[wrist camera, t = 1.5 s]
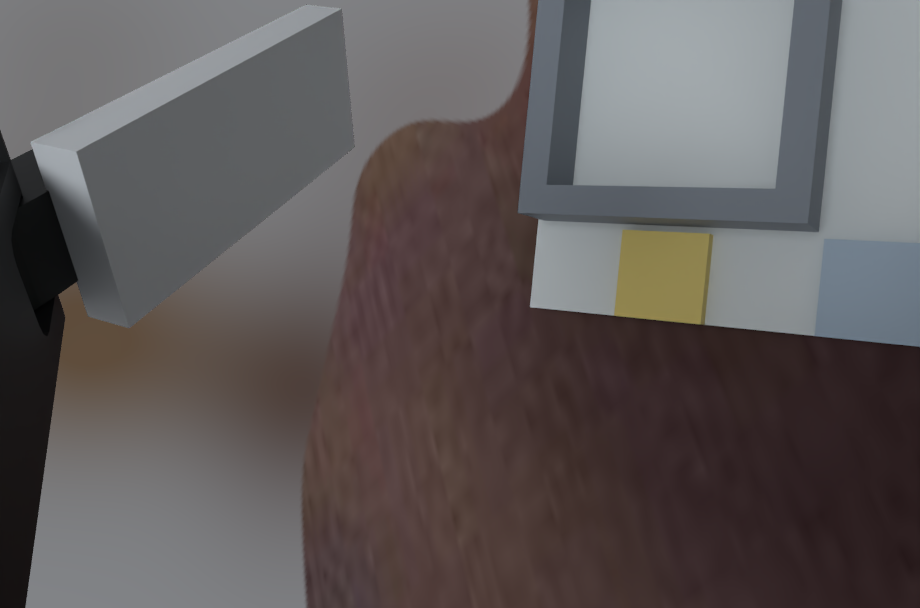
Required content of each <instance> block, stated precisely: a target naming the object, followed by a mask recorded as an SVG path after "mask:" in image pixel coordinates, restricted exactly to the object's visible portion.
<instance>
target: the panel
mask: <svg viewBox="0 0 920 608" xmlns="http://www.w3.org/2000/svg"><path fill="white" fill-rule="evenodd" d="M518 213H520V214H523V215H527V216H530V217H534V218H537V219H539V220H538V230H537V240H536V250H535V261H534V271H533V281H532V291H531V301H530V307H534V308H543V309H553V310H563V311H573V312H583V313H593V314H603V315H613V316H621V317H631V318H641V319H651V320H661V321H671V322H681V323H691V324H700V325H711V326H721V327H731V328H741V329H751V330H761V331H771V332H781V333H791V334H800V335H810V336H819V337H829V338H839V339H849V340H858V341H868V342H878V343H888V344H898V345H908V346H918V347H920V0H538V10H537V20H536V31H535V41H534V51H533V61H532V71H531V82H530V92H529V102H528V112H527V123H526V133H525V143H524V153H523V164H522V174H521V184H520V194H519V204H518Z"/></svg>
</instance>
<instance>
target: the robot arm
mask: <svg viewBox="0 0 920 608" xmlns="http://www.w3.org/2000/svg"><path fill="white" fill-rule="evenodd" d="M31 146H32V150H30V151H28V152H26V153H24V154H22V155H20V156H18V157H16V158H14V159H12V160H11V159H10V157H9V154H8V151H7V148H6V145H5V142H4V140H3V137H2V134H1V131H0V608H25V605H26V597H27V591H28V590H27V589H28V582H29V576H30V569H31V561H32V554H33V547H34V540H35V533H36V525H37V518H38V510H39V503H40V496H41V489H42V482H43V474H44V467H45V460H46V453H47V445H48V438H49V430H50V424H51V417H52V409H53V402H54V395H55V387H56V380H57V373H58V366H59V358H60V351H61V344H62V337H63V329H64V322H65V315H64V312H63V308H62V305H61V302H60V299H59V296H58V294H60V293H61V292H62V291H64V290H65V289H67V288H68V287H70V286H71V285H73V284H74V283H75V282H77V284H78V287H79V290H80V293H81V296H82V299H83V302H84V305H85V308H86V311H87V315H88V316H89V317H92V318H95V319H99V320H102V321H106V322H110V323H113V324H116V325H120V326H123V327H127V328H130V327H131V326H133V325H134V324H135V323H136V322H137V321H139V320H140V319H141V318H142V317H144V316H145V315H146V314H147V313H149V312H150V311H151V310H152V309H154V308H155V307H156V306H157V305H158V304H160V303H161V302H162V301H163V300H165V299H166V298H167V297H169V296H170V295H171V294H172V293H173V292H175V291H176V290H177V289H179V288H180V287H181V286H182V285H184V284H185V283H186V282H187V281H189V280H190V279H191V278H192V277H194V276H195V275H196V274H197V273H199V272H200V271H201V270H202V269H203V268H205V267H206V266H207V265H209V264H210V263H211V262H212V261H213V260H215V259H216V258H217V257H218V256H220V255H221V254H222V253H223V252H224V251H226V250H227V249H228V248H230V247H231V246H232V245H233V244H235V243H236V242H237V241H238V240H240V239H241V238H242V237H243V236H245V235H246V234H247V233H248V232H250V231H251V230H252V229H253V228H255V227H256V226H257V225H258V224H260V223H261V222H262V221H263V220H265V219H266V218H267V217H268V216H270V215H271V214H272V213H273V212H274V211H276V210H277V209H278V208H280V207H281V206H282V205H283V204H285V203H286V202H287V201H288V200H290V198H292V197H293V196H294V195H296V194H297V193H298V192H299V191H300V190H302V189H303V188H304V187H306V186H307V185H308V184H309V183H311V182H312V181H313V180H314V179H316V178H317V177H318V176H319V175H321V174H322V173H323V172H324V171H326V170H327V169H328V168H329V167H331V166H332V165H333V164H334V163H335V162H337V161H338V160H339V159H341V158H342V157H343V156H344V155H346V154H347V153H348V152H349V151H351V150H352V149H353V148H354V147H355V145H354V135H353V124H352V113H351V102H350V92H349V81H348V71H347V59H346V49H345V38H344V28H343V16H342V9H340V8H331V7H322V6H313V5H304V6H302V7H300V8H298V9H296V10H294V11H292V12H290V13H288V14H286V15H285V16H283V17H281V18H278V19H276V20H274V21H272V22H270V23H268V24H266V25H264V26H262V27H260V28H258V29H256V30H254V31H252V32H250V33H248V34H246V35H244V36H243V37H240V38H238V39H236V40H234V41H232V42H230V43H228V44H226V45H224V46H222V47H220V48H219V49H216V50H214V51H212V52H210V53H208V54H206V55H204V56H202V57H200V58H198V59H196V60H194V61H192V62H190V63H188V64H186V65H184V66H182V67H180V68H178V69H176V70H174V71H172V72H170V73H168V74H166V75H164V76H162V77H160V78H158V79H156V80H154V81H152V82H150V83H148V84H146V85H144V86H142V87H140V88H138V89H136V90H134V91H132V92H130V93H128V94H126V95H124V96H122V97H120V98H118V99H116V100H114V101H112V102H110V103H108V104H106V105H104V106H102V107H100V108H98V109H96V110H94V111H92V112H90V113H88V114H86V115H84V116H82V117H80V118H78V119H76V120H74V121H72V122H70V123H68V124H66V125H64V126H62V127H60V128H58V129H56V130H54V131H52V132H50V133H48V134H46V135H44V136H42V137H40V138H38V139H36V140H34V141H32V142H31Z"/></svg>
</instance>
